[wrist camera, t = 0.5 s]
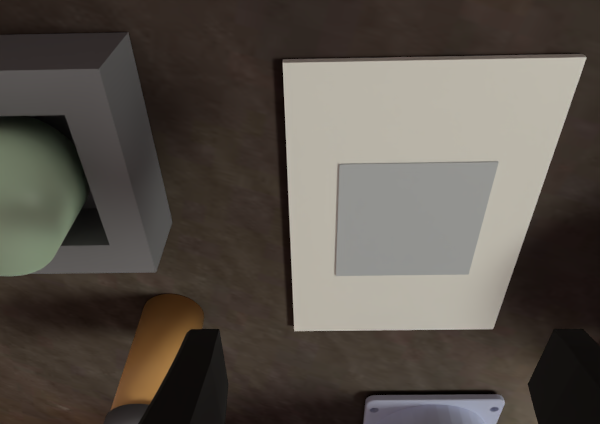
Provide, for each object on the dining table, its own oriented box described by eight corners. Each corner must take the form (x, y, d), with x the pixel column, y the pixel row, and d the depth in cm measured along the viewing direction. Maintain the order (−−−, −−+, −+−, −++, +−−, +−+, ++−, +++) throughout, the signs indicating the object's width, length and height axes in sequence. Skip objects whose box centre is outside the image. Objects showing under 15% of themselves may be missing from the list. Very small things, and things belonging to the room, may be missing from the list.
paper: (491, 324, 25) (493, 330, 25) (294, 326, 26) (294, 332, 25) (582, 53, 17) (587, 58, 16) (283, 59, 17) (282, 63, 17)
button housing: (172, 221, 21) (156, 272, 19) (-15, 224, 21) (-54, 274, 19) (128, 32, 16) (99, 68, 14) (-114, 37, 16) (-184, 74, 14)
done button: (105, 217, 19) (76, 275, 16) (-12, 219, 19) (-57, 277, 16) (68, 110, 16) (29, 161, 14) (-68, 112, 16) (-131, 163, 14)
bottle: (209, 334, 26) (185, 473, 20) (148, 334, 26) (107, 473, 21) (201, 291, 24) (171, 433, 19) (134, 292, 24) (85, 433, 19)
